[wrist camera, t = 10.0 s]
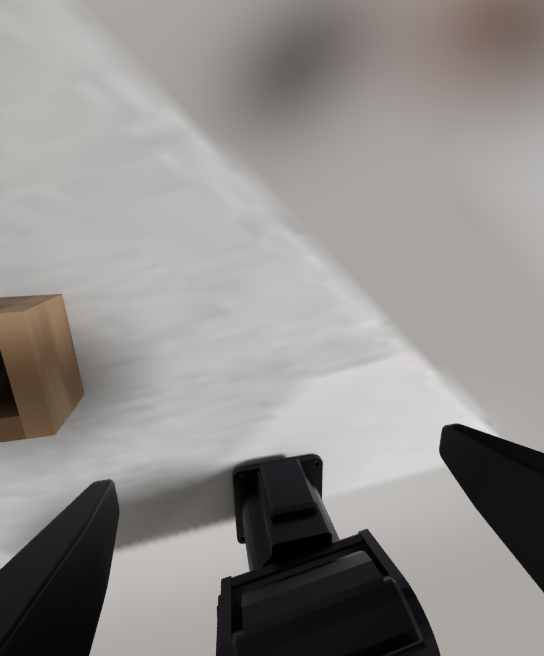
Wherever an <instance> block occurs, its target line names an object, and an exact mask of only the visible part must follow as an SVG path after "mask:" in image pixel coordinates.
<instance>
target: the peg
mask: <svg viewBox="0 0 544 656" xmlns="http://www.w3.org/2000/svg"><path fill="white" fill-rule="evenodd" d="M9 382H10V381H9V378H8V374H7V371H6V367H5V364H4V360H3V357H2V354H1V350H0V390H1V389H2V388H3V387H4V386H6V385H7V384H8V383H9Z"/></svg>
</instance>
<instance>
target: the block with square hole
mask: <svg viewBox="0 0 544 656" xmlns="http://www.w3.org/2000/svg"><path fill="white" fill-rule="evenodd" d="M0 350H1V354H2V357H3V360H4V364H5V367H6V371H7V374H8V378H9V381H10V383H9V384H7V385H6V386H4V387H3V388H2V389H1V390H0V442H6V441H13V440H21V439H28V438H36V437H43V436H51V435H55V434H56V433H57V431H58V430H59V429H60V427H61V426H62V424H63V423H64V422H65V420H66V419H67V418H68V416H69V415H70V413H71V412H72V411H73V409H74V408H75V407H76V405H77V404H78V402H79V401H80V400H81V398H82V397H83V396H84V392H83V387H82V383H81V378H80V374H79V369H78V365H77V360H76V356H75V351H74V347H73V342H72V337H71V333H70V328H69V324H68V319H67V315H66V310H65V306H64V301H63V297H62V294H57V295H40V296H23V297H6V298H0Z"/></svg>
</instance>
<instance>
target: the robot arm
mask: <svg viewBox="0 0 544 656" xmlns="http://www.w3.org/2000/svg"><path fill="white" fill-rule="evenodd" d="M439 452H440V456H441V458H442V459H443V461H444V462H445V464H446V465H447V467H448V468H449V470H450V471H451V473H452V474H453V476H454V477H455V479H456V480H457V481H458V483H459V484H460V486H461V487H462V489H463V490H464V492H465V493H466V495H467V496H468V498H469V499H470V501H471V502H472V503H473V505H474V506H475V508H476V509H477V510H478V511H479V513H480V514H481V515H482V517H483V518H484V519H485V520H486V522H487V523H488V524H489V525H490V527H491V528H492V529H493V530H494V531H495V533H496V534H497V535H498V536H499V538H500V539H501V540H502V541H503V543H504V544H505V545H506V546H507V548H508V549H509V550H510V551H511V552H512V554H513V555H514V556H515V558H516V559H517V560H518V561H519V562H520V564H521V565H522V566H523V568H524V569H525V570H526V571H527V572H528V574H529V575H530V576H531V577H532V579H533V580H534V581H535V582H536V583H537V585H538V586H539V587H540V589H541V590H542V591H543V592H544V453H542V452H539V451H536V450H533V449H530V448H528V447H525V446H522V445H519V444H516V443H513V442H510V441H507V440H504V439H502V438H499V437H496V436H493V435H490V434H487V433H484V432H481V431H478V430H476V429H473V428H470V427H467V426H464V425H461V424H450V425H445V426H444V427H443V428H442V433H441V439H440V446H439ZM315 461H317V462H316V463H314V462H315ZM322 470H323V462H322V460H321V458H320V456H318V455H310V456H304V457H298V458H292V459H286V460H280V461H274V462H268V463H262V464H256V465H250V466H244V467H239V468H236V469H235V470H234V471H233V473H232V477H233V490H234V503H235V517H236V529H237V540H238V542H239V543H241V544H244V543H246V550H247V557H248V564H249V570H250V572H247V573H244V574H241V575H238V576H235V577H231V576H229V577H226V578H223V579H221V595H219V596H218V606H217V642H216V656H440V652H439V648H438V645H437V642H436V640H435V637H434V634H433V631H432V629H431V627H430V624H429V622H428V619H427V617H426V615H425V613H424V611H423V609H422V607H421V605H420V603H419V601H418V599H417V597H416V595H415V593H414V592H413V590H412V588H411V586H410V585H409V583H408V582H407V581H406V579H405V578H404V577H403V575H402V574H401V572H400V571H399V570H398V569H397V567H396V566H395V564H394V563H393V562H392V561H391V559H390V558H389V557H388V555H387V554H386V553H385V552H384V550H383V549H382V547H381V546H380V545H379V543H378V542H377V541H376V540H375V538H374V537H373V536H372V534H371V533H370V532H369V530H368V529H365V530H362V531H359V532H358V534H356V535H353V536H350V537H347V538H345V539H342V540H339V537H338V535H337V533H336V531H335V529H334V526H333V524H332V522H331V519H330V517H329V515H328V513H327V510H326V508H325V506H324V504H323V502H322ZM239 474H242V476H238V475H239ZM118 520H119V503H118V498H117V493H116V489H115V484H114V482H113V480H111V479H108V480H102V481H96V482H94V483H92V484H91V485H90V486H89V487H88V488H87V489H86V490H84V491H83V492H82V493H81V494H80V495H79V496H78V497H77V498H76V499H75V500H74V501H73V502H72V503H71V504H70V505H68V506H67V507H66V508H65V509H64V510H63V511H62V512H61V513H60V514H59V515H58V516H57V517H56V518H55V519H54V520H53V521H51V522H50V523H49V524H48V525H47V526H46V527H45V528H44V529H43V530H42V531H41V532H40V533H39V534H38V535H37V536H36V537H34V538H33V539H32V540H31V541H30V542H29V543H28V544H27V545H26V546H25V547H24V548H23V549H22V550H21V551H20V552H18V553H17V554H16V555H15V556H14V557H13V558H12V559H11V560H10V561H9V562H8V563H7V564H6V565H5V566H4V567H3V568H1V569H0V656H89V654H90V650H91V647H92V643H93V639H94V636H95V632H96V628H97V624H98V621H99V617H100V613H101V610H102V606H103V602H104V598H105V594H106V590H107V586H108V580H109V575H110V568H111V562H112V556H113V550H114V544H115V538H116V532H117V526H118Z"/></svg>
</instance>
